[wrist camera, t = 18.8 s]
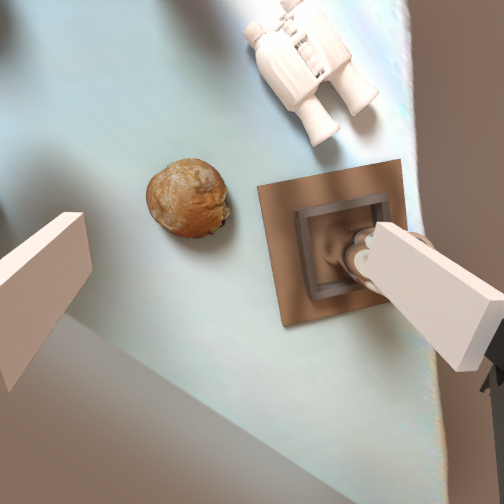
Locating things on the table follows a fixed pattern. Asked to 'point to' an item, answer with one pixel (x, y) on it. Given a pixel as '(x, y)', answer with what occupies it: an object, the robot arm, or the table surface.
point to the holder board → (314, 227)
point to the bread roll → (188, 198)
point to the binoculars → (308, 66)
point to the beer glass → (354, 250)
